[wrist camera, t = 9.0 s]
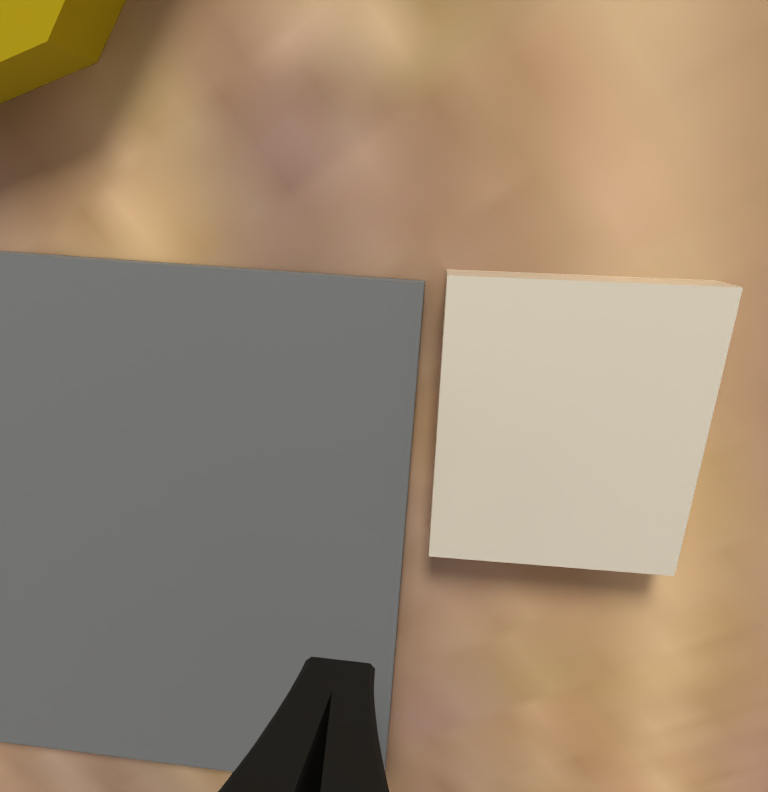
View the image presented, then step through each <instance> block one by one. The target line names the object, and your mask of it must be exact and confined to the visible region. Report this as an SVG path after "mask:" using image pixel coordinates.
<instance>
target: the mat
mask: <svg viewBox="0 0 768 792" xmlns="http://www.w3.org/2000/svg"><path fill="white" fill-rule="evenodd" d="M424 283H425V281H420V280H406V279H391V278H377V277H363V276H348V275H334V274H320V273H306V272H291V271H277V270H263V269H249V268H234V267H220V266H206V265H192V264H177V263H163V262H149V261H135V260H120V259H106V258H92V257H78V256H63V255H49V254H35V253H21V252H6V251H0V742H7V743H15V744H23V745H31V746H38V747H46V748H54V749H62V750H69V751H77V752H85V753H93V754H100V755H108V756H116V757H124V758H131V759H139V760H147V761H155V762H162V763H170V764H178V765H186V766H193V767H201V768H209V769H217V770H224V771H232V772H234V771H235V769H236V768H237V767H238V766H239V764H240V763H241V762H242V760H243V759H244V758H245V756H246V755H247V754H248V752H249V751H250V750H251V748H252V747H253V745H254V744H255V743H256V741H257V740H258V738H259V737H260V735H261V734H262V732H263V731H264V729H265V728H266V726H267V725H268V724H269V722H270V721H271V719H272V718H273V716H274V715H275V713H276V712H277V710H278V709H279V707H280V705H281V704H282V702H283V701H284V699H285V697H286V696H287V694H288V692H289V691H290V689H291V687H292V686H293V684H294V682H295V680H296V679H297V677H298V675H299V673H300V671H301V669H302V667H303V665H304V663H305V661H306V660H307V659H309V658H310V657H320V658H329V659H337V660H346V661H355V662H364V663H370V664H371V665H372V666H373V667H374V668H375V678H374V702H375V713H376V723H377V730H378V737H379V743H380V749H381V754H382V760H383V765H384V771H385V767H386V754H387V742H388V729H389V717H390V705H391V692H392V680H393V667H394V655H395V643H396V630H397V618H398V605H399V593H400V581H401V568H402V556H403V543H404V531H405V519H406V506H407V494H408V481H409V469H410V457H411V444H412V432H413V419H414V407H415V395H416V382H417V370H418V357H419V345H420V333H421V320H422V308H423V295H424Z"/></svg>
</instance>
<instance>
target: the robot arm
mask: <svg viewBox="0 0 768 792" xmlns="http://www.w3.org/2000/svg"><path fill="white" fill-rule="evenodd" d="M374 678H375V668H374V667H373V666H372V665H371V664H370V663H364V662H355V661H346V660H337V659H329V658H320V657H310V658H309V659H307V660H306V661H305V663H304V665H303V667H302V669H301V671H300V673H299V675H298V677H297V679H296V680H295V682H294V684H293V686H292V687H291V689H290V691H289V692H288V694H287V696H286V697H285V699H284V701H283V702H282V704H281V705H280V707H279V709H278V710H277V712H276V713H275V715H274V716H273V718H272V719H271V721H270V722H269V724H268V725H267V726H266V728H265V729H264V731H263V732H262V734H261V735H260V737H259V738H258V740H257V741H256V743H255V744H254V745H253V747H252V748H251V750H250V751H249V752H248V754H247V755H246V756H245V758H244V759H243V760H242V762H241V763H240V764H239V766H238V767H237V768H236V769H235V771H234V772H233V773H232V775H231V776H230V777H229V779H228V780H227V781H226V783H225V784H224V785H223V786H222V788H221V789H220V790H219V791H218V792H389V789H388V785H387V780H386V775H385V771H384V765H383V760H382V754H381V749H380V743H379V737H378V730H377V723H376V713H375V702H374Z"/></svg>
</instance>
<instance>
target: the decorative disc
mask: <svg viewBox="0 0 768 792" xmlns="http://www.w3.org/2000/svg"><path fill="white" fill-rule="evenodd" d="M125 2H126V0H0V104H1V103H3V102H6V101H8V100H10V99H13V98H15V97H17V96H20V95H22V94H24V93H27V92H29V91H31V90H34V89H36V88H38V87H41V86H43V85H45V84H48V83H50V82H52V81H55V80H57V79H59V78H62V77H64V76H67V75H69V74H71V73H74V72H76V71H78V70H81V69H83V68H85V67H88V66H90V65H92V64H95V63H97V62H98V60H99V58H100V55H101V53H102V51H103V49H104V47H105V45H106V43H107V40H108V38H109V36H110V34H111V32H112V30H113V28H114V25H115V23H116V21H117V19H118V17H119V15H120V12H121V10H122V8H123V6H124V4H125Z"/></svg>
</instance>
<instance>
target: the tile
mask: <svg viewBox="0 0 768 792" xmlns="http://www.w3.org/2000/svg"><path fill="white" fill-rule="evenodd" d="M742 289H743V288H742V287H739V286H735V285H732V284H728V283H725V282H721V281H717V280H695V279H670V278H646V277H621V276H597V275H572V274H548V273H523V272H498V271H474V270H449V269H447V271H446V286H445V301H444V317H443V332H442V347H441V363H440V378H439V393H438V408H437V424H436V439H435V454H434V469H433V485H432V500H431V515H430V530H429V556H430V557H443V558H455V559H468V560H480V561H493V562H505V563H518V564H530V565H543V566H556V567H568V568H581V569H593V570H606V571H618V572H631V573H643V574H656V575H668V576H675V571H676V567H677V563H678V559H679V555H680V550H681V546H682V542H683V538H684V534H685V529H686V525H687V521H688V517H689V512H690V508H691V504H692V500H693V496H694V491H695V487H696V483H697V479H698V475H699V470H700V466H701V462H702V458H703V454H704V449H705V445H706V441H707V437H708V432H709V428H710V424H711V420H712V416H713V411H714V407H715V403H716V399H717V395H718V390H719V386H720V382H721V378H722V373H723V369H724V365H725V361H726V357H727V352H728V348H729V344H730V340H731V336H732V331H733V327H734V323H735V319H736V315H737V310H738V306H739V302H740V298H741V293H742Z"/></svg>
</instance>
